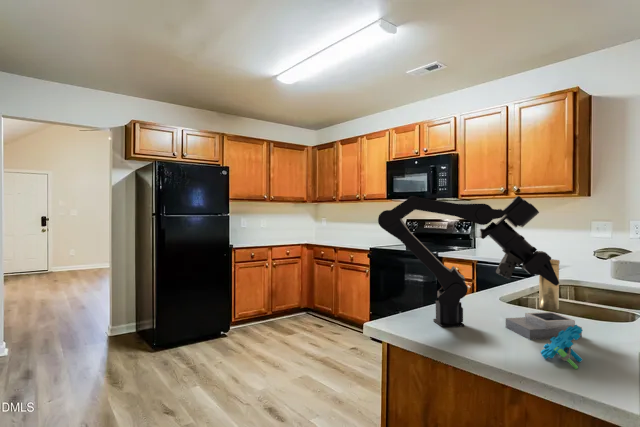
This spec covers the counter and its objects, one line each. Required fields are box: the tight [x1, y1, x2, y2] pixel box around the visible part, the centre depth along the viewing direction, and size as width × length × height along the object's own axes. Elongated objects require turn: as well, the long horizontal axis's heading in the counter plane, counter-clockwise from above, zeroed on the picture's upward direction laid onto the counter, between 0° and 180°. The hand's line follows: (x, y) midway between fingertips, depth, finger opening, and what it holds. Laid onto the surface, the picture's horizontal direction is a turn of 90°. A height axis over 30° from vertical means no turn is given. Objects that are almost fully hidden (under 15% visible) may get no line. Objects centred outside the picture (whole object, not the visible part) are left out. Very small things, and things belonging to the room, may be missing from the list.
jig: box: [505, 311, 583, 340], centre depth 99 cm, size 14×10×4 cm
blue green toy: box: [540, 324, 583, 370], centre depth 80 cm, size 11×6×10 cm
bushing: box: [538, 258, 561, 311], centre depth 99 cm, size 5×5×12 cm
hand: (554, 282), depth 99 cm, fingers closed on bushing, 4 cm apart
